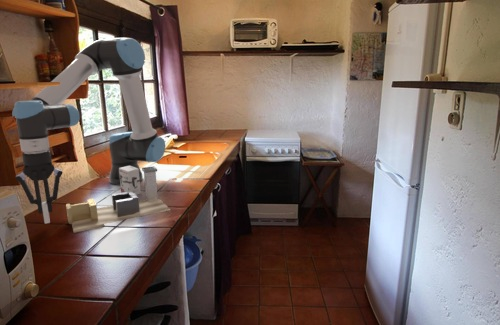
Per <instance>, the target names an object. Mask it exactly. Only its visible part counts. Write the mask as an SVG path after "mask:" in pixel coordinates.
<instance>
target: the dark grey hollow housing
mask: <svg viewBox="0 0 500 325" xmlns="http://www.w3.org/2000/svg"><path fill="white" fill-rule="evenodd" d="M139 201H140V199H139V196H138V194H137V195H136V194H135V193H134V192H123V193H122V192H118V193H117V192H116V193H112V194H111V202H112V206H113V209H114V210H117V216H118V217H122V216H127V215H132V214H135V213H136V212H140V210H139Z"/></svg>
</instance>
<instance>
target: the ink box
mask: <svg viewBox="0 0 500 325" xmlns="http://www.w3.org/2000/svg"><path fill="white" fill-rule="evenodd" d="M119 174H120V185H119V186H120V193H123V192H134V193H135V194H136V195H137V196H138V195H141V181H140V178H139V169H138V168H135V167H132V166H125V167H121V168H119Z"/></svg>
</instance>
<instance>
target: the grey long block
mask: <svg viewBox="0 0 500 325" xmlns="http://www.w3.org/2000/svg"><path fill="white" fill-rule="evenodd" d="M141 172H143V176H144V179H143V180H144V189H145V200H147V201H148V202H153V201H158V198H159V196H158V185H157V172H158V168H157V167H155V166H147V167H141Z"/></svg>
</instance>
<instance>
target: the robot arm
mask: <svg viewBox="0 0 500 325" xmlns="http://www.w3.org/2000/svg"><path fill="white" fill-rule="evenodd" d="M145 60H146V55H145V51H144V48H143V47H142V45H141V44H140V42H139V41H137V40H136V39H134V38H132V37H112V38H101V39H98V40H95V41H93V42H91V43H90V44H88V45H86V46H85V47H84V48H83V49H82V50H80V51H79V52H78V53H77V54H76V55H75V56H74V60H73V61H72V62H71V63H70V64H69V65H68V66H66V67H65V69H64V70H62V71H61V73H59V74H58V75H57V76H56V77H54V78H53V79H52V80H50V82H60V85H58V86H49V87H46V86H44V87H43V89H41V90H40V91H39V92H38V93H37V94H36V95H35V96H33V97H32V99H30V100H19V101H15V103H14V105H13V106H14V108H13V109H12V113H11V115H12V117H13V116H15V118H16V122H15V124H16V126H17V127H16V128H17V133H18V137H19V138H18V139H19V140H18V141H19V144H20V150H21V152H22V154H21V156H22V163H23V169H22V172H21V173H18V174H16V175H15V181H17V182H18V183H20V185H21V187H22V189H23V191H24V194H25V195H26V197H27V199H28V201H29V204H30V205H37V211H38V214H39V215H43V221H44V224H50V223H51V220H50V213H51V212H53V207H52V206H53V205H52V202H54V201H56V200H58V194H59V188H60V187H59V186H60V179H61V177H62V175H63V173H64V172H63V170H62V169H58V168H56V167H55V166H54V164H53V161H52V155H51V151H50V141H49V134H48V131H51V130H55V129H56V130H57V129H62V128H70V127H75V126H77V125H78V124H79V122H80V112H79V110H78V108H77V107H76V106H75V105H73V104H71V103H70V104H68V103H67V104H65V103H64V102H65V101H66V100H67V99H68V98H69V97H70V96H71V95H72V94H73V93H74V92H75V91H76V90H77V89H78V88H79V87H81V86H82V85H83V84H84V83H85V81H86V80H88V79H89V78H90V76H95V75H97V74H98V72H101V71H103V70H107V69H111V72H112V73H111V74H112V76H113V77H115V78H117V80H118V83H119V86H120V90H121V94H122V97H123V101H124V105H125V108H126V111H127V116H128V119H129V122H130V127H131V130H132V131H127V132H126V131H125V132H118V133H114V134H111V135H110V136H109V138H108V139H109V143H108V144H109V152H110V160H111V168H110V173H109V176H108V178H109V180H108V181H109V183H110V184H112V185H118V186H121V185H120V174H119V168H121V167H125V166H132V167H135V168H138V169H139V178H140V182H141V181H143V180H144V179H143V176H144V175H143V173H142V172H143V171H142V169H141V167H140V165H139V164H138V162H146V163H157V162H159V161H160V160H161V159H162V158H163V157H164V155H165V151H166V142H165V140H164V138H163V137H161V136H158V135H159V134H158V131H157V130H156V129H155V128H153V125H152V121H151V116H150V113H149V109H148V104H147V99H146V97H145V92H144V88H143V84H142V80H141V76H140V75H141V73H142V71H143V67H144V65H145ZM52 174H53V175H54V184H53V189H52V195H51V192H50V186H49V185H50V184H49V179H50V177H51V175H52ZM26 177H28V178H29V180H31V181H32V182H33V186H34V193H35V197H34V195H33V193H32V191H31V188H30V187H29V185H28V183H27V181H26ZM40 181H43V187H44V194H45V201H42V195H41V189H40V183H39V182H40Z"/></svg>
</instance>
